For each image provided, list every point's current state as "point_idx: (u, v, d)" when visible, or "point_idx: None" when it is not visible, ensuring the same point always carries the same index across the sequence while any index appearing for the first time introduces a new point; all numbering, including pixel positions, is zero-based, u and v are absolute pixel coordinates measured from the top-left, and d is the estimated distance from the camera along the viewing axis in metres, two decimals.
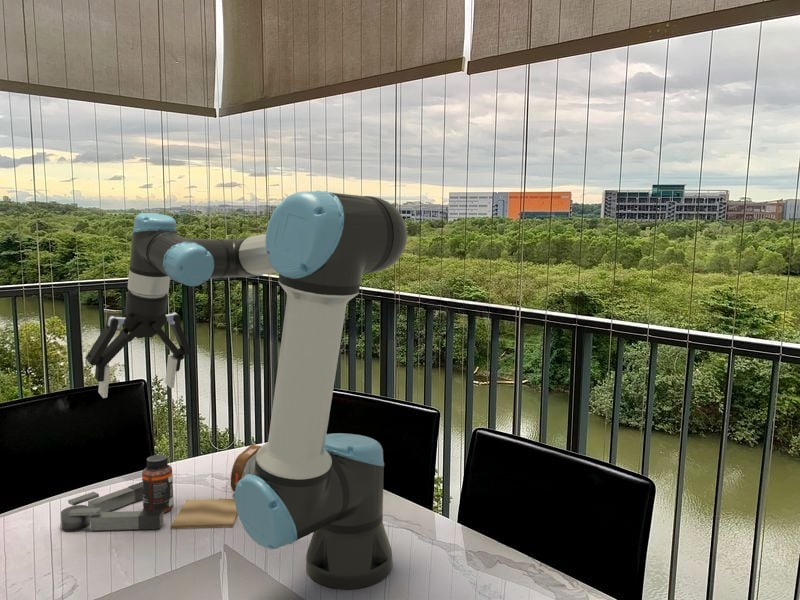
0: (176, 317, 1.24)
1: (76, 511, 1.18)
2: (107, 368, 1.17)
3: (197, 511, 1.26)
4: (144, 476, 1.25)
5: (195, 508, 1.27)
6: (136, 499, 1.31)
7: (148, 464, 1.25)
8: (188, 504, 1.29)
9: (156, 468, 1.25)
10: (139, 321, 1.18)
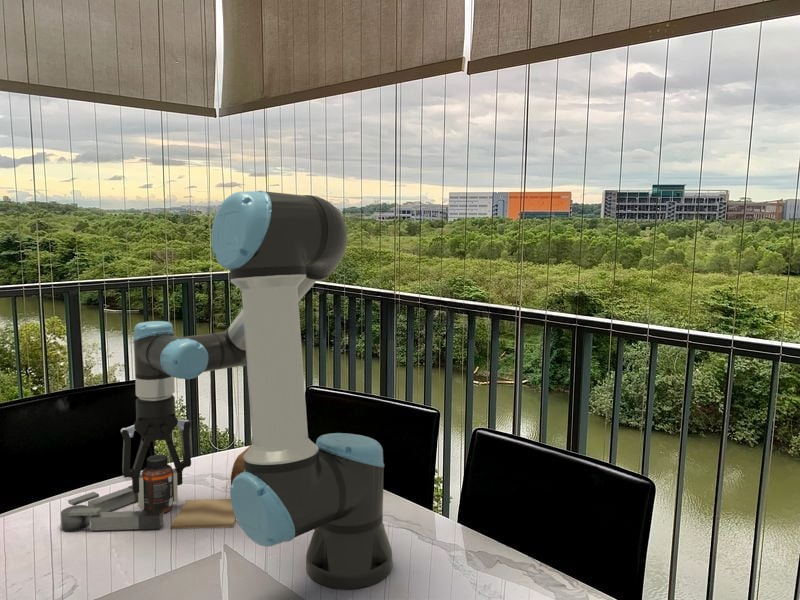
0: (186, 423, 1.28)
1: (76, 511, 1.18)
2: (140, 479, 1.24)
3: (197, 511, 1.26)
4: (144, 476, 1.25)
5: (195, 508, 1.27)
6: (136, 499, 1.31)
7: (148, 464, 1.25)
8: (188, 504, 1.29)
9: (156, 468, 1.25)
10: (147, 426, 1.24)
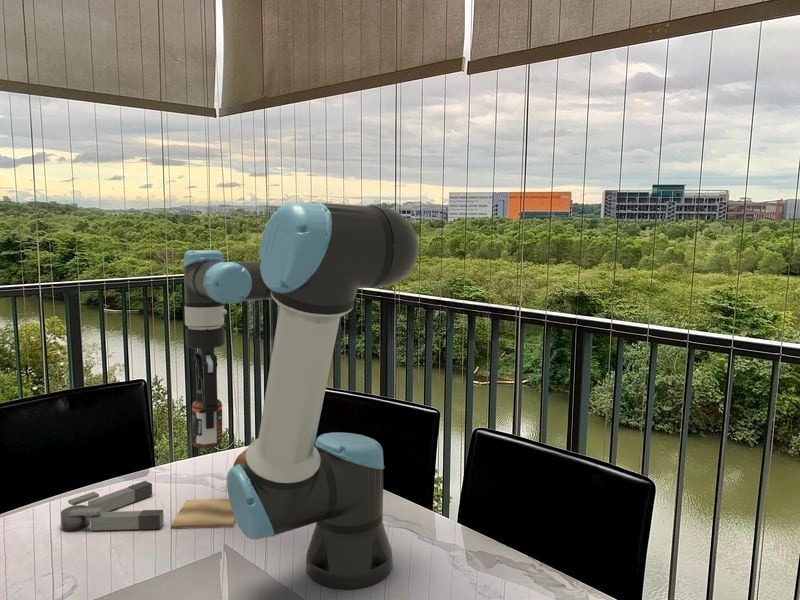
0: None
1: (76, 511, 1.18)
2: None
3: (197, 511, 1.26)
4: None
5: (195, 508, 1.27)
6: (136, 499, 1.31)
7: None
8: (188, 504, 1.29)
9: None
10: (198, 353, 1.24)
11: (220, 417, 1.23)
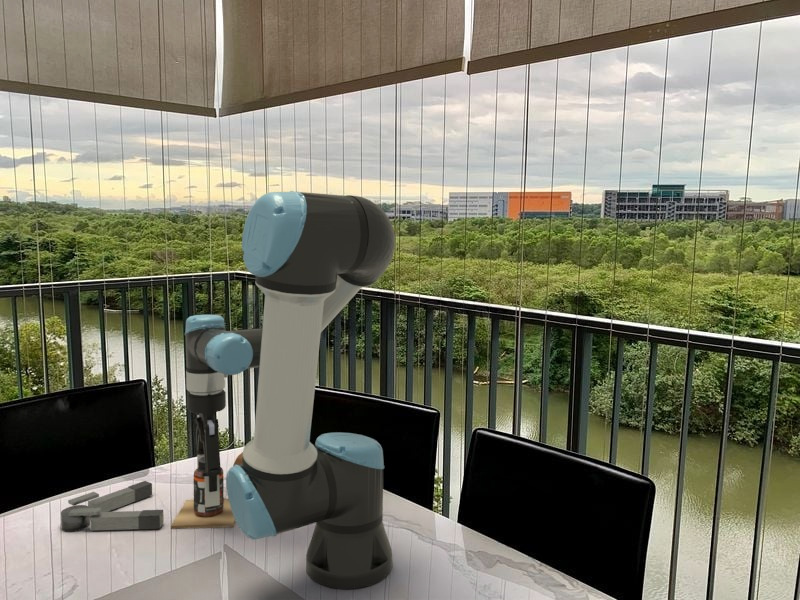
0: None
1: (76, 511, 1.18)
2: (197, 456, 1.29)
3: None
4: None
5: None
6: (136, 499, 1.31)
7: None
8: (188, 504, 1.29)
9: (198, 467, 1.24)
10: (200, 416, 1.25)
11: (221, 485, 1.25)
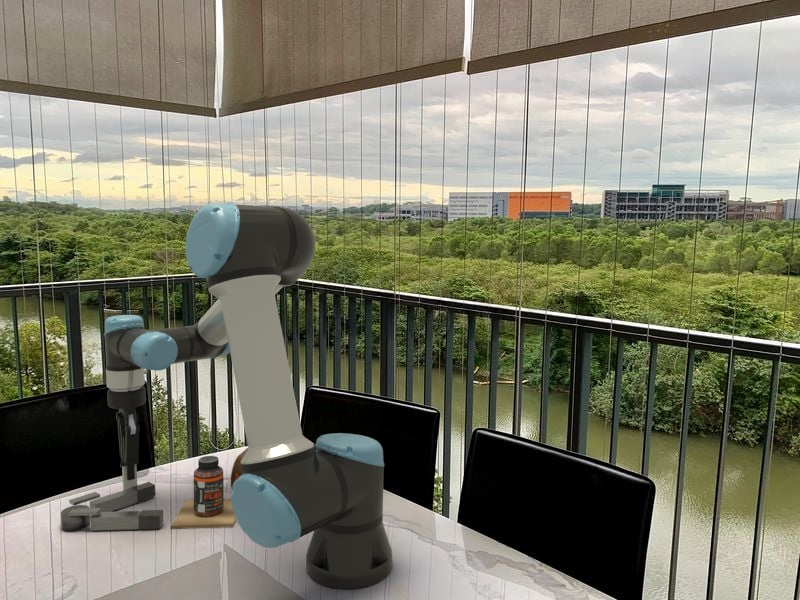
0: (126, 427, 1.25)
1: (76, 511, 1.18)
2: None
3: None
4: None
5: None
6: (138, 500, 1.30)
7: None
8: (188, 504, 1.29)
9: (198, 467, 1.24)
10: (120, 412, 1.32)
11: (221, 485, 1.25)
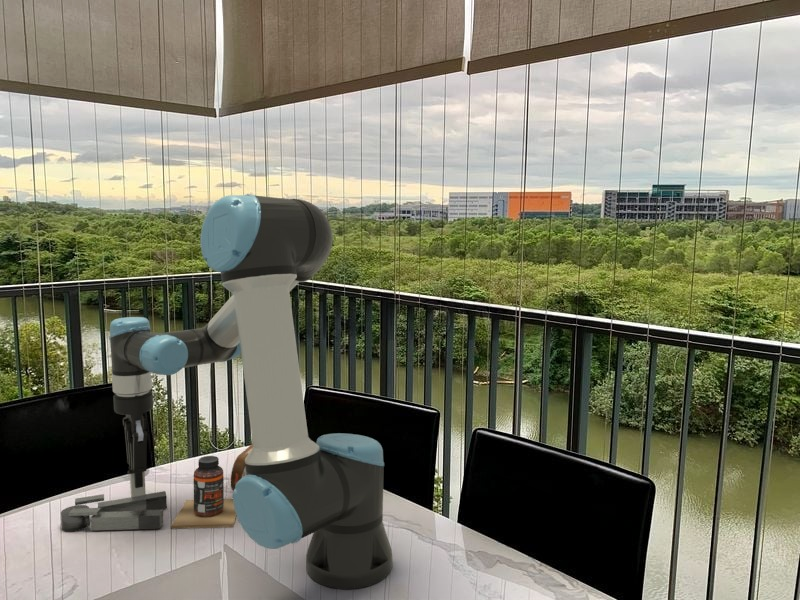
0: (133, 434, 1.21)
1: (76, 511, 1.18)
2: None
3: None
4: None
5: None
6: (147, 509, 1.26)
7: None
8: (188, 504, 1.29)
9: (198, 467, 1.24)
10: (126, 418, 1.27)
11: (221, 485, 1.25)
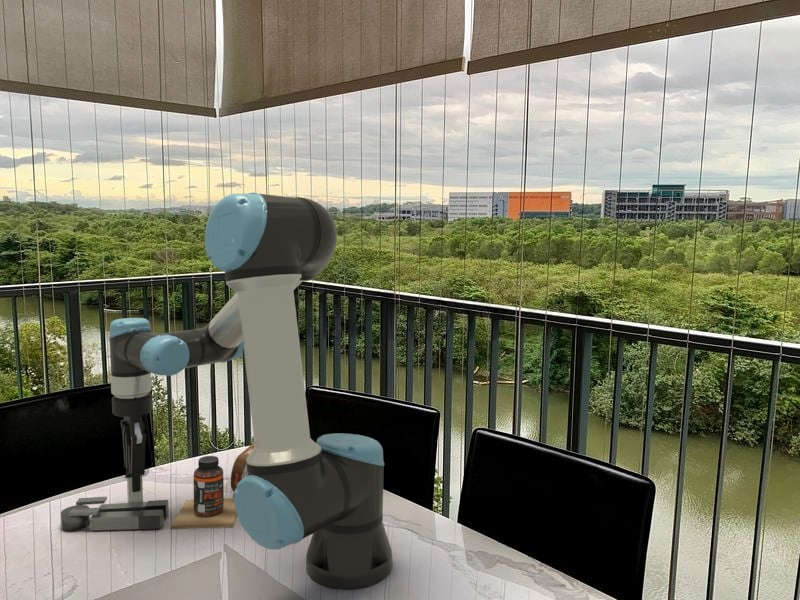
0: (132, 436, 1.19)
1: (76, 511, 1.18)
2: None
3: None
4: None
5: None
6: None
7: None
8: (188, 504, 1.29)
9: (198, 467, 1.24)
10: (125, 420, 1.25)
11: (221, 485, 1.25)
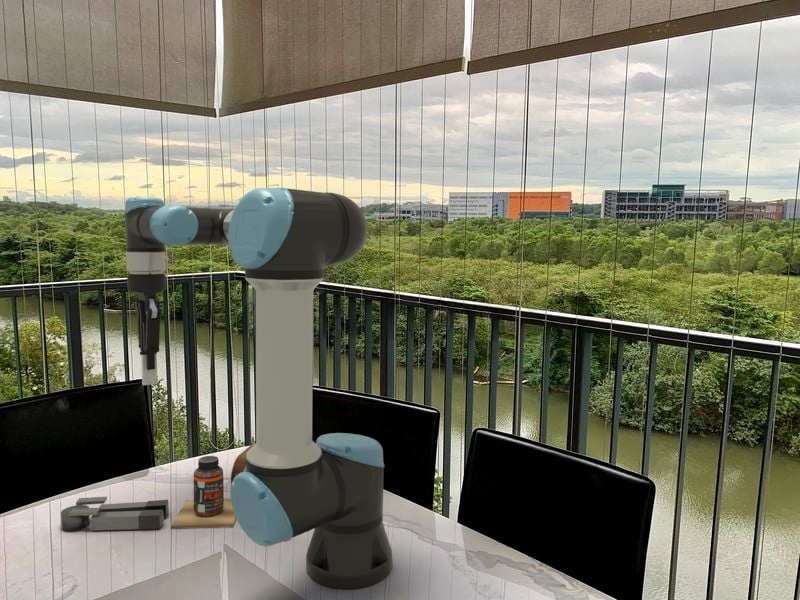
0: (147, 310, 1.21)
1: (76, 511, 1.18)
2: (141, 354, 1.27)
3: None
4: None
5: None
6: None
7: None
8: (188, 504, 1.29)
9: (198, 467, 1.24)
10: (139, 300, 1.27)
11: (221, 485, 1.25)
